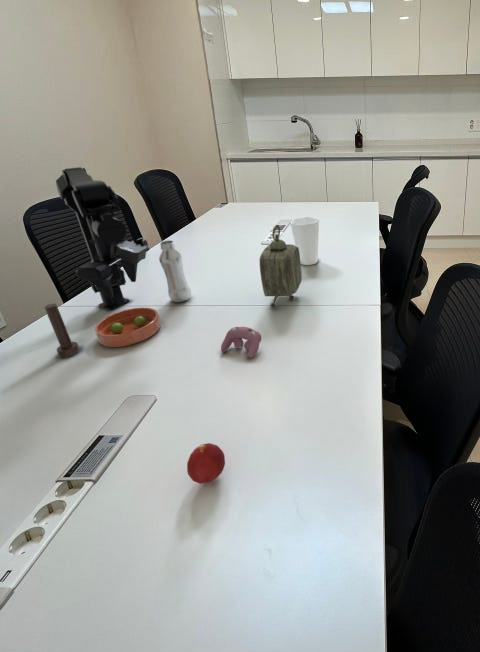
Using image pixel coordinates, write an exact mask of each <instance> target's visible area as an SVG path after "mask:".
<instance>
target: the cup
mask: <svg viewBox="0 0 480 652" xmlns="http://www.w3.org/2000/svg"><path fill="white" fill-rule="evenodd" d="M289 224H290V229H291V233H292V237H293V242H294V245H295V246H296V247H298V248H299V253H300V262H301V265H303V266H311V265H316V264H317V263H318V260H319V231H320V229H319V228H320V227H319V226H320V219H319V218H318V217H313V216H302V217H297V218H293V219H292V220H291V221H290V222H289Z"/></svg>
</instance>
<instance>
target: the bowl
mask: <svg viewBox="0 0 480 652" xmlns="http://www.w3.org/2000/svg"><path fill="white" fill-rule="evenodd" d="M138 316H143V317H144V318H145V319H146V323H145V325H143V326H140V327H139V326H136V325H135V324H134V319H135V318H136V317H138ZM114 323H120V324H122V325H123V330H122V332H120V333H118V334H115V333H112V332H111V330H110V328H111V326H112V325H113V324H114ZM161 327H162V321H161V318H160V315H159V312H158V310H156V309H154V308H151V307H134V308H128V309H124V310H121V311H118V312H114V313H112V314H111V315H108V316H106V317H104V318H103V319H102V320H100V321H99V322H98V323H97V324H96V325H95V329H94V332H95V335H96V337H97V340H98V342H99V344H100V345H101V346H104V347H109V348H118V347H125V346H131V345H134V344H137V343H140V342H142V341H144V340H147V339H148V338H150V337H152V336H154V335H155V334H156V333H157V332H159V330H160V328H161Z"/></svg>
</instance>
